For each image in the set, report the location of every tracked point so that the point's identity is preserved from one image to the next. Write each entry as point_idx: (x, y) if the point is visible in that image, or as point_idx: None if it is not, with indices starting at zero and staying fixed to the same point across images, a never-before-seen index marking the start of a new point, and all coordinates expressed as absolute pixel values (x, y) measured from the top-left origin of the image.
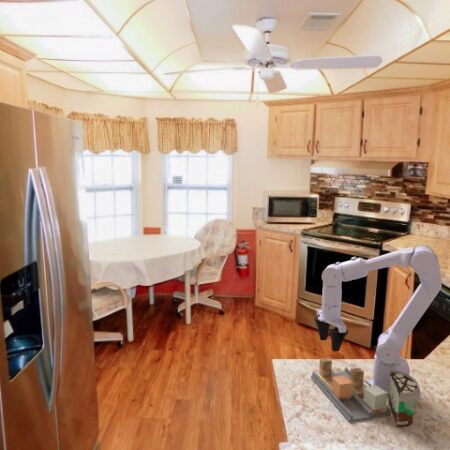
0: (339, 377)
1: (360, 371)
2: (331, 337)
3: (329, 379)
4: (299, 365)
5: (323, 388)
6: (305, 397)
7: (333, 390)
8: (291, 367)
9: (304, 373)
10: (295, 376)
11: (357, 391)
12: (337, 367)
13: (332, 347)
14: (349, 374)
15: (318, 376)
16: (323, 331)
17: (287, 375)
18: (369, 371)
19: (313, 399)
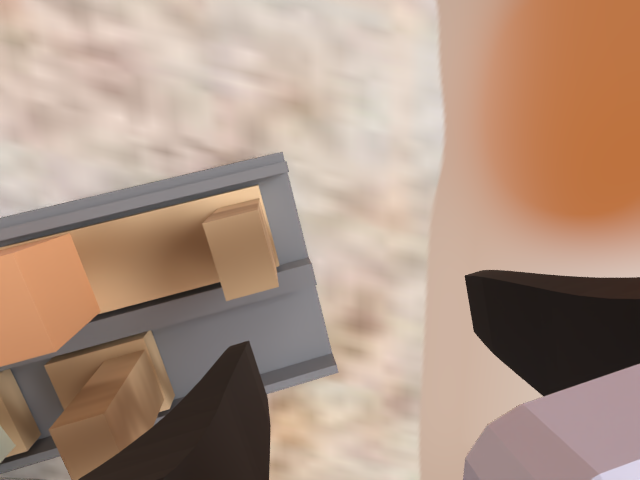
0: (16, 303)
1: (68, 472)
2: (185, 426)
3: (194, 246)
4: (414, 113)
5: (141, 195)
6: (54, 66)
7: (46, 239)
8: (393, 56)
9: (325, 124)
10: (290, 58)
11: (73, 374)
12: (386, 323)
13: (224, 357)
14: (288, 369)
15: (225, 185)
16: (538, 336)
17: (301, 6)
18: (345, 464)
19: (39, 112)
